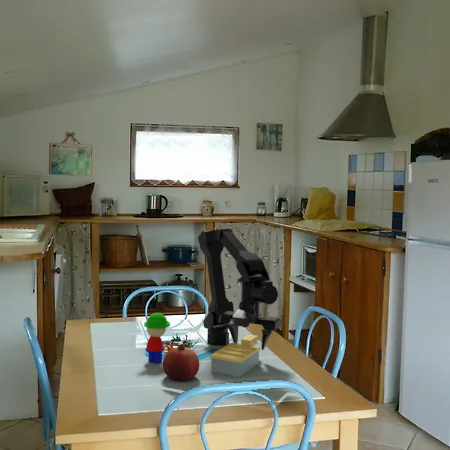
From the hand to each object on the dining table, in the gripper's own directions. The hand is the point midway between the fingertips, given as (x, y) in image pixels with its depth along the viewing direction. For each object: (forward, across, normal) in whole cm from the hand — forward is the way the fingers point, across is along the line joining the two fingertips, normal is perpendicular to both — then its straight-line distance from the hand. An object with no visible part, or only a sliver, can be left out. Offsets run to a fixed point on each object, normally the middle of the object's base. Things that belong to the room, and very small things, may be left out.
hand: (249, 347), depth 179 cm
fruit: (+4, -10, -25) cm, 27 cm away
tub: (+4, 0, -10) cm, 11 cm away
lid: (-1, 0, -7) cm, 7 cm away
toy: (+4, -25, -14) cm, 29 cm away
